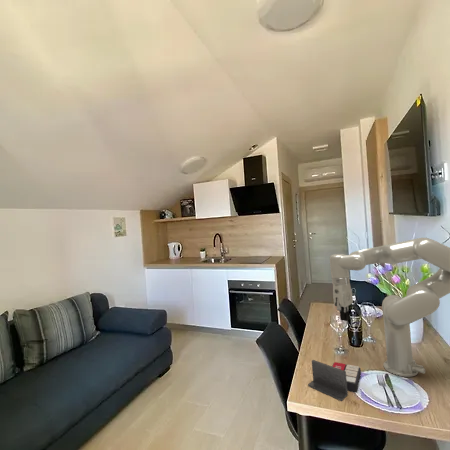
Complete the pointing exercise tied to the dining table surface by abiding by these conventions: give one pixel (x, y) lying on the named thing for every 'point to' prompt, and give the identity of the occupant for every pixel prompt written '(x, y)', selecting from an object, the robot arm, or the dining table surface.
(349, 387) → the red and tan block
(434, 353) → the dining table surface
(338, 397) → the bookend
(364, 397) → the dining table surface
